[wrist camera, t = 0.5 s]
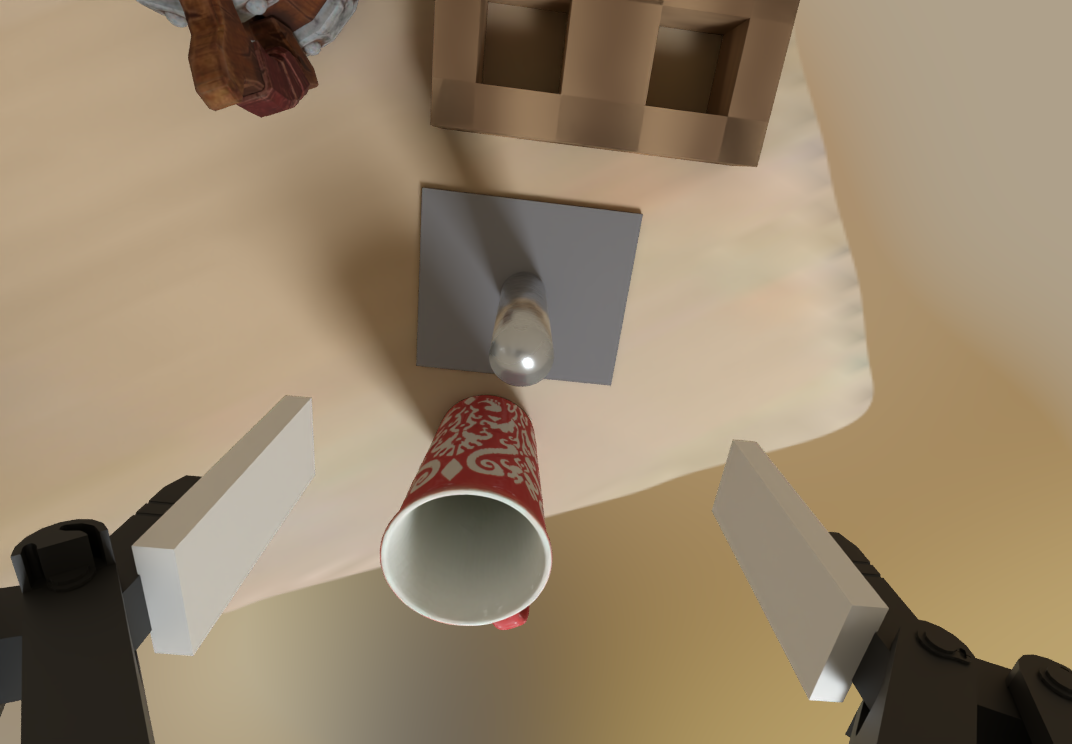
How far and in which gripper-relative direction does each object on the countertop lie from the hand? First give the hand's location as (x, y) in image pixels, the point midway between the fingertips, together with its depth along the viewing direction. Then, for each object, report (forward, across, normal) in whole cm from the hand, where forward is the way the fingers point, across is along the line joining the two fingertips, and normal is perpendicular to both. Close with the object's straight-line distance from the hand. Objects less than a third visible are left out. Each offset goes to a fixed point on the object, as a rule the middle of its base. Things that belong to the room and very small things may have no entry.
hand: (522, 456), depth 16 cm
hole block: (+21, +3, +14) cm, 25 cm away
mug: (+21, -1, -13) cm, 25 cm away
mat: (+21, 0, 0) cm, 21 cm away
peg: (+20, 0, 0) cm, 21 cm away
